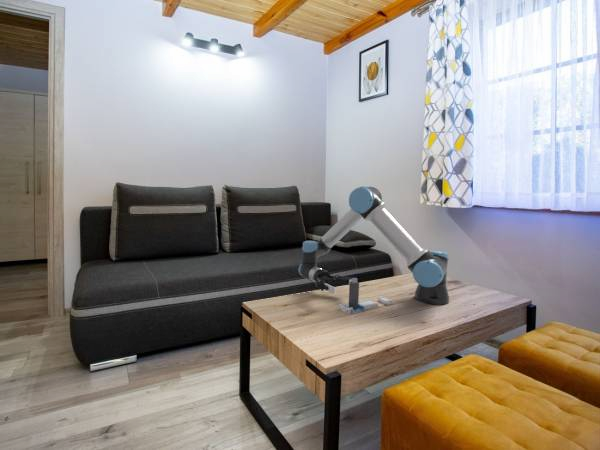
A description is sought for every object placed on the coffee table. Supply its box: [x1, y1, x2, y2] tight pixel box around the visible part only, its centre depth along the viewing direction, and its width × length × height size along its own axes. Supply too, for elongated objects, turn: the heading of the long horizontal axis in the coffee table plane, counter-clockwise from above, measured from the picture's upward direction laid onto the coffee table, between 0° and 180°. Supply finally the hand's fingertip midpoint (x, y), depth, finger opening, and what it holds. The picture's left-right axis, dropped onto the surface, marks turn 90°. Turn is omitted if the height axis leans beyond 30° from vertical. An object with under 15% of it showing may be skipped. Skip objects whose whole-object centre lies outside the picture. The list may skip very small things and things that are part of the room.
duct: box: [338, 295, 393, 314], centre depth 152 cm, size 25×7×2 cm, turn 119°
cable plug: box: [348, 277, 360, 310], centre depth 148 cm, size 4×4×13 cm
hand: (346, 288), depth 152 cm, fingers open, 13 cm apart
